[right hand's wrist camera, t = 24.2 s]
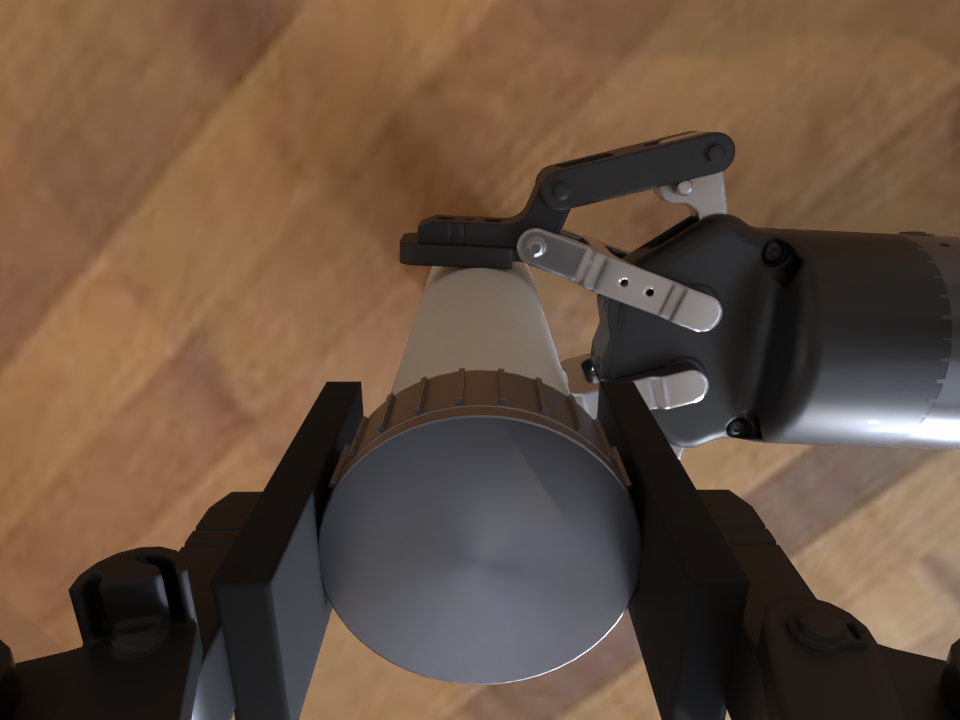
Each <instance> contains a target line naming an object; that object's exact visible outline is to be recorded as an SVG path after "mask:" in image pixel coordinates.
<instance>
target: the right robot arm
mask: <svg viewBox="0 0 960 720" xmlns="http://www.w3.org/2000/svg"><path fill="white" fill-rule="evenodd" d="M362 418H363V403H362V389H361V382H326V384H325V386H324V388H323V389H322V391H321V393H320V394H319V396H318V398H317V400H316V401H315V403H314V405H313V406H312V408H311V410H310V412H309V413H308V415H307V417H306V418H305V420H304V422H303V424H302V425H301V427H300V429H299V431H298V432H297V434H296V436H295V437H294V439H293V441H292V443H291V444H290V446H289V448H288V449H287V451H286V453H285V455H284V456H283V458H282V460H281V462H280V463H279V465H278V467H277V468H276V470H275V472H274V474H273V475H272V477H271V479H270V480H269V482H268V484H267V486H266V487H265V489H264V491H263V492H231V493H230V494H228V495H227V496H225V497H224V498H223V499H221V500H220V501H218V502H217V503H216V504H214V505H213V506H211V507H210V508H209V509H208V510H207V512H206V513H205V515H204V516H203V518H202V519H201V520H200V522H199V523H198V525H197V526H196V531H193V532H192V533H191V535H190V536H189V538H188V539H187V541H186V542H185V547H182V548H181V549H180V551H179V552H177V551H176V550H172V549H168V548H164V547H140V548H136V549H132V550H128V551H124V552H120V553H117V554H115V555H113V556H111V557H108V558H106V559H104V560H102V561H100V562H98V563H96V564H95V565H93V566H92V567H90V568H89V569H88V570H86V571H85V572H84V573H82V574H81V575H79V577H78V578H77V579H76V581H75V582H74V583H73V585H72V586H71V587H70V588H69V594H70V597H71V601H72V604H73V608H74V611H75V615H76V619H77V622H78V626H79V629H80V633H81V636H82V640H83V646H82V647H80V648H77V649H73V650H70V651H67V652H63V653H59V654H54V655H50V656H46V657H41V658H37V659H33V660H28V661H24V662H20V663H16V664H15V662H14V659H13V656H12V653H11V650H10V648H9V647H8V646H7V645H6V644H5V643H3V642H2V641H1V640H0V720H230V719H231V717H232V715H233V712H234V714H235V719H236V720H299V717H300V714H301V710H302V707H303V704H304V700H305V697H306V694H307V690H308V687H309V684H310V681H311V677H312V674H313V671H314V667H315V664H316V661H317V657H318V654H319V651H320V647H321V644H322V641H323V637H324V634H325V631H326V627H327V624H328V621H329V617H330V614H331V611H332V607H333V606H332V604H331V603H330V601H329V599H328V596H327V594H326V591H325V589H324V586H323V583H322V578H321V570H320V561H319V551H318V532H319V526H320V522H321V519H322V515H323V511H324V509H325V506H326V504H327V501H328V499H329V496H330V494H331V491H332V488H330V487H328V485H329V483H330V480H331V478H332V475H333V473H334V471H335V468H336V466H337V463H338V461H339V459H340V456H341V454H342V451H343V449H344V447H345V445H349V446H350V445H351V442H352V440H353V439H354V437H355V435H356V432H357V430H358V427H359V425H360V422H361V420H362ZM597 418H598V419H599V420H600V422H601V424H602V427H603V429H604V432H605V434H606V437H607V439H608V442H609V444H610V446H611V448H613V447H615V446H616V448H617V450H618V453H619V455H620V458H621V460H622V462H623V465H624V467H625V470H626V472H627V475H628V477H629V479H630V482H631V484H632V487H633V489H632V490H629V492H630V495H631V497H632V500H633V502H634V505H635V508H636V511H637V514H638V517H639V520H640V524H641V530H642V537H643V545H642V556H641V565H640V574H639V581H638V584H637V587H636V590H635V593H634V595H633V597H632V599H631V601H630V603H629V605H628V610H629V613H630V616H631V619H632V623H633V626H634V629H635V633H636V636H637V639H638V643H639V646H640V649H641V653H642V656H643V659H644V663H645V666H646V669H647V673H648V676H649V679H650V683H651V686H652V689H653V693H654V696H655V699H656V702H657V706H658V709H659V712H660V716H661V719H662V720H725V716H726V711H727V710H728V713H729V715H730V718H731V720H960V639H958V640H957V641H956V642H955V643H954V644H953V645H951V648H950V651H949V654H948V657H947V660H946V661H944V660H939V659H935V658H931V657H926V656H922V655H918V654H913V653H909V652H905V651H900V650H896V649H893V648H889V647H886V646H883V645H879V644H877V642H876V641H875V639H874V638H873V636H872V635H871V633H870V632H869V630H868V629H867V627H866V626H865V625H863V624H862V623H861V622H860V621H858V620H857V619H856V618H855V617H854V616H852V615H851V614H850V613H848V612H846V611H844V610H842V609H840V608H838V607H836V606H835V605H833V604H831V603H828V602H824V601H821V600H817V599H816V597H815V596H814V594H813V593H812V592H811V590H810V589H809V587H808V586H807V584H806V583H805V582H804V580H803V579H802V577H801V576H800V574H799V573H798V572H797V570H796V569H795V567H794V566H793V564H792V563H791V562H790V560H789V559H788V557H787V556H786V554H785V553H784V552H783V550H782V549H781V547H780V546H779V545H776V540H775V539H774V537H773V536H772V534H771V533H770V532H769V530H768V529H765V524H764V523H763V522H762V520H761V519H760V517H759V516H758V514H757V513H756V512H755V510H754V509H753V507H752V506H751V505H749V504H748V503H747V502H745V501H744V500H742V499H741V498H740V497H738V496H737V495H735V494H734V493H733V492H731V491H730V490H696V488H695V487H694V485H693V483H692V481H691V480H690V478H689V476H688V475H687V473H686V471H685V469H684V468H683V466H682V464H681V463H680V461H679V459H678V457H677V456H676V454H675V452H674V451H673V449H672V447H671V445H670V444H669V442H668V440H667V438H666V437H665V435H664V433H663V432H662V430H661V428H660V426H659V425H658V423H657V421H656V420H655V418H654V416H653V414H652V413H651V411H650V409H649V407H648V406H647V404H646V402H645V401H644V399H643V397H642V395H641V394H640V392H639V390H638V389H637V387H636V385H635V383H634V382H599V395H598V409H597Z"/></svg>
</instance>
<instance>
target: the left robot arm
mask: <svg viewBox="0 0 960 720" xmlns="http://www.w3.org/2000/svg"><path fill="white" fill-rule="evenodd" d="M734 155H735V146H734V143H733V141H732V139H731V138H730V137H729V136H728V135H726V134H724V133H720V132H703V131H688V132H684V133H680V134H676V135H672V136H668V137H664V138H660V139H656V140H652V141H648V142H644V143H640V144H635V145H631V146H627V147H623V148H619V149H615V150H611V151H607V152H603V153H599V154H595V155H591V156H587V157H583V158H579V159H574V160H570V161H566V162H562V163H558V164H554V165H550V166H547V167H545V168H543V169H542V170H541V171H540V172H539V174H538V175H537V178H536V182H535V186H534V189H533V191H532V193H531V195H530V198H529V200H528V202H527V204H526V206H525V208H524V209H523V210H522V211H521V212H520V213H519V214H518V215H516V216H514V217H510V218H491V217H469V216H466V217H465V216H448V215H435V216H432V217H429V218H427V219H424V220H422V221H421V222H420V224H419V226H418V233H406V234H404V235H403V237H402V238H401V240H400V263H402V264H407V265H420V266H442V267H464V268H490V269H508V270H512V263H513V262H525V263H526V264H528V265H531V266H533V267H536V268H539V269H542V270H544V271H547V272H550V273H552V274H555V275H558V276H560V277H563V278H566V279H568V280H571V281H574V282H576V283H578V284H579V285H581V286H582V287H584V288H586V289H588V290H590V291H593V292H596V293H598V295H597V304H598V310H599V317H600V323H599V325H598V328H597V330H596V333H595V335H594V338H593V340H592V348H591V353H589V354H585V355H581V356H577V357H573V358H569V359H566V360H564V361H562V362H561V363H560V365H561V368H562V371H563V374H564V377H565V380H566V383H567V386H568V389H569V392H570V394H571V395H573V396H574V397H575V400H576V403H577V404H578V405H579V406H581V407H582V408H583V409H584V410H585V411H586V412H587V413H588V414H589V415H590V416H591V417H592V418H593V419H594V420H595V419H596V418H597V409H598V395H599V382H634V383H635V385H636V387H637V389H638V390H639V392H640V394H641V395H642V397H643V399H644V401H645V402H646V404H647V406H648V407H649V409H650V411H651V413H652V414H653V416H654V418H655V420H656V421H657V423H658V425H659V426H660V428H661V430H662V432H663V433H664V435H665V437H666V438H667V440H668V442H669V444H670V445H671V447H672V449H673V451H674V452H675V454H676V456H677V457H678V459H680V457H681V455H682V453H683V451H684V449H685V448H692V447H696V446H699V445H702V444H704V443H706V442H709V441H712V440H715V439H719V438H724V437H732V438H739V439H745V440H750V441H756V442H764V443H787V444H812V445H836V446H862V447H888V448H912V449H960V237H949V236H935V235H933V234H927V233H926V232H900V233H899V234H882V233H861V232H840V231H818V230H796V229H774V228H757V227H752V226H749V225H748V224H746V223H745V222H743V221H742V220H741V219H739V218H737V217H735V216H732V215H729V214H728V211H727V201H726V191H725V181H724V170H725V169H727V168H728V167H729V165H730V164H731V163H732V161H733V159H734ZM650 189H653V191H654V193H655V194H656V196H657V197H658V198H660V199H662V200H664V201H666V202H668V203H671V204H686V205H687V206H688V208H689V209H690V212H691V216H689V217H688V218H686V219H685V220H683V221H681V222H680V223H678V224H676V225H675V226H673V227H672V228H670V229H668V230H667V231H665V232H664V233H662V234H660V235H659V236H657V237H655V238H654V239H652V240H651V241H649V242H647V243H646V244H644V245H643V246H641V247H639V248H638V249H636V250H634V251H633V252H631V253H630V252H627V251H625V250H622V249H620V248H617V247H614V246H612V245H609V244H606V243H604V242H601V241H599V240H596V239H593V238H591V237H588V236H584V235H579V234H576V233H573V232H571V231H568V230H566V229H563V228H562V227H563V224H564V222H565V220H566V218H567V216H568V214H569V211H570V209H571V208H575V207H579V206H583V205H587V204H591V203H596V202H600V201H604V200H608V199H612V198H617V197H621V196H625V195H629V194H633V193H637V192H642V191H646V190H650ZM593 369H594V370H593Z"/></svg>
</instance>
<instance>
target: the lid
mask: <svg viewBox="0 0 960 720" xmlns="http://www.w3.org/2000/svg"><path fill="white" fill-rule="evenodd" d="M328 487H330V488H332V491H331V494H330V496H329V499H328V501H327V504H326V506H325V509H324V511H323V515H322V519H321V522H320V526H319V532H318V551H319V561H320V570H321V578H322V583H323V586H324V589H325V591H326V594H327V596H328V599H329V601H330V603H331V604H332V606H333V608H334V610H335V611H336V613H337V615H338V616H339V617H340V619H341V620H342V621H343V623H344V624H345V625H346V627H347V628H348V629H349V630H350V631H351V632H352V633H353V634H354V635H355V636H356V637H357V638H358V639H359V640H360V641H361V642H362V643H363V644H365V645H366V646H367V647H368V648H370V649H371V650H372V651H373V652H375V653H376V654H378V655H379V656H381V657H383V658H384V659H386V660H387V661H389V662H391V663H393V664H395V665H397V666H399V667H401V668H403V669H405V670H408V671H410V672H413V673H416V674H419V675H422V676H425V677H428V678H432V679H437V680H441V681H445V682H453V683H460V684H480V685H486V684H500V683H508V682H514V681H520V680H524V679H528V678H532V677H535V676H539V675H542V674H545V673H547V672H550V671H552V670H555V669H557V668H560V667H562V666H563V665H565V664H567V663H569V662H571V661H573V660H575V659H577V658H578V657H579V656H581V655H582V654H584V653H585V652H587V651H588V650H590V649H591V648H592V647H594V646H595V645H596V644H597V643H598V642H599V641H600V640H602V639H603V638H604V637H605V636H606V635H607V634H608V633H609V631H610V630H611V629H612V628H613V627H614V626H615V625H616V624H617V622H618V621H619V619H620V618H621V616H622V615H623V614H624V612H625V611H626V609H627V607H628V605H629V603H630V601H631V599H632V597H633V595H634V593H635V590H636V587H637V584H638V581H639V574H640V565H641V556H642V545H643V537H642V530H641V524H640V520H639V517H638V514H637V511H636V508H635V505H634V502H633V500H632V497H631V495H630V492H629V490H632V489H633V487H632V484H631V482H630V479H629V477H628V475H627V472H626V470H625V467H624V465H623V462H622V460H621V458H620V455H619V453H618V450H617V448H616V446H615V447H613V448H611V446H610V444H609V442H608V439H607V437H606V434H605V432H604V429H603V427H602V424H601V422H600V420H599V419H598V418H596V419H595V420H594V419H593V418H592V417H591V416H590V415H589V414H588V413H587V412H586V411H585V410H584V409H583V408H582V407H581V406H579V405H578V404H577V403H576V400H575V397H574V396H573V395H571V394H570V395H569V396H566V395H565V394H563V393H561V392H560V391H558V390H556V389H555V388H553V387H551V386H549V385H546V384H544V383H543V382H542V379H541V378H538V377H536V379H532V378H528V377H525V376H521V375H518V374H513V373H507V372H504V369H501V368H498V371H489V370H471V371H465V368H459V372H453V373H448V374H443V375H438V376H435V377H432V378H429V379H428V378H427V376H425V377H422V378H421V380H420V382H418V383H416V384H414V385H412V386H410V387H408V388H406V389H404V390H402V391H400V392H399V393H397V394H396V395H394V394H393V393H391V394H389V395H388V396H387V399H386V402H384V403H383V404H382V405H381V406H380V407H379V408H378V409H376V410H375V411H374V412H373V413H372V414H371V415H370V417H369V418H367V417H366V416H364V417H363V418H362V420H361V422H360V425H359V427H358V430H357V432H356V435H355V437H354V439H353V440H352V442H351V445H350V446H349V445H345V447H344V449H343V451H342V454H341V456H340V459H339V461H338V463H337V466H336V468H335V471H334V473H333V475H332V478H331V480H330V483H329V485H328Z"/></svg>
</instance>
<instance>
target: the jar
mask: <svg viewBox="0 0 960 720" xmlns="http://www.w3.org/2000/svg"><path fill="white" fill-rule="evenodd" d="M459 368H465V371H471V370H489V371H498V368H501V369H504V372H507V373H513V374H518V375H521V376H525V377H528V378H532V379H536V377H538V378H541V379H542V382H543V383H544V384H546V385H549V386H551V387H553V388H555V389H556V390H558V391H560V392H561V393H563V394H565V395H566V396H569V395H570V392H569V389H568V386H567V383H566V380H565V377H564V374H563V371H562V368H561V365H560V362H559V358H558V355H557V352H556V349H555V346H554V343H553V340H552V337H551V334H550V331H549V328H548V325H547V322H546V318H545V315H544V312H543V309H542V306H541V303H540V300H539V297H538V294H537V291H536V288H535V285H534V282H533V279H532V275H531V272H530V269H529V266H528V264H526V263H525V262H513V263H512V270H508V269H490V268H464V267H442V266H432V268H431V271H430V274H429V277H428V280H427V283H426V286H425V289H424V292H423V295H422V298H421V301H420V304H419V307H418V311H417V314H416V317H415V320H414V323H413V326H412V329H411V332H410V335H409V338H408V341H407V344H406V347H405V350H404V353H403V356H402V359H401V362H400V366H399V369H398V372H397V375H396V378H395V381H394V384H393V387H392V390H391V393H393V394H394V395H396V394H397V393H399V392H400V391H402V390H404V389H406V388H408V387H410V386H412V385H414V384H416V383H418V382H420V380H421V378H422V377H425V376H427V378H428V379H429V378H432V377H435V376H438V375H443V374H448V373H453V372H459ZM391 393H390V394H391Z"/></svg>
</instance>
